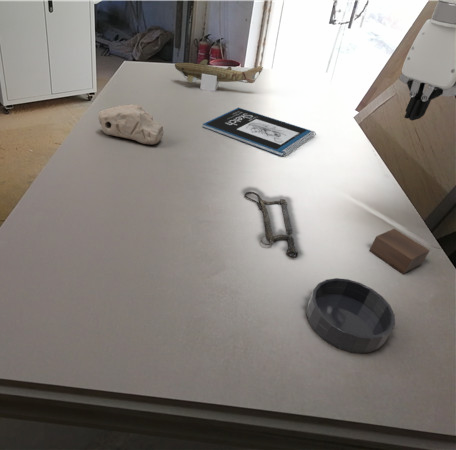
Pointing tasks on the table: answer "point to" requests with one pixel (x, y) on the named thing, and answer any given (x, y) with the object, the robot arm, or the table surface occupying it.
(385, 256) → the block
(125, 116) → the decorative stone
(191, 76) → the wood carving
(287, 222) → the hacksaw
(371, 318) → the pan
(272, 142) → the sketchbook
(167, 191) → the table surface
